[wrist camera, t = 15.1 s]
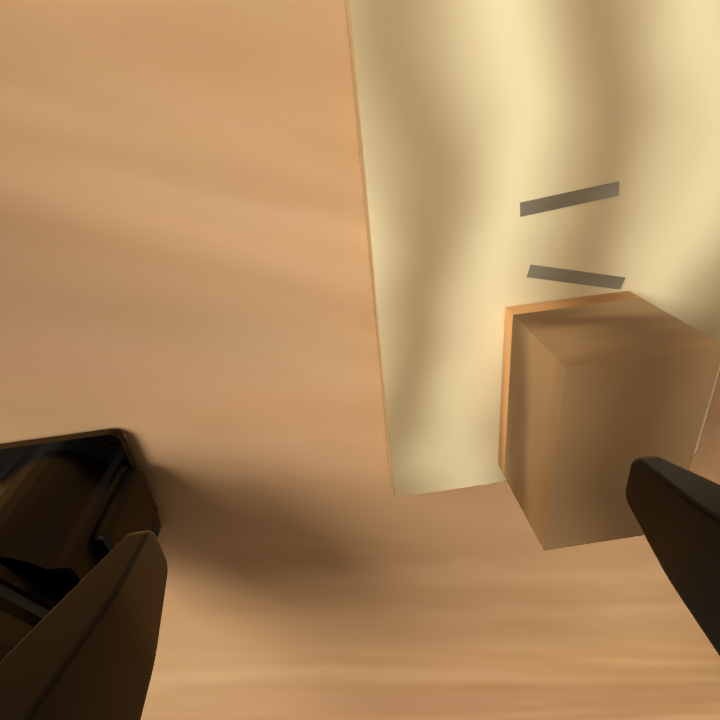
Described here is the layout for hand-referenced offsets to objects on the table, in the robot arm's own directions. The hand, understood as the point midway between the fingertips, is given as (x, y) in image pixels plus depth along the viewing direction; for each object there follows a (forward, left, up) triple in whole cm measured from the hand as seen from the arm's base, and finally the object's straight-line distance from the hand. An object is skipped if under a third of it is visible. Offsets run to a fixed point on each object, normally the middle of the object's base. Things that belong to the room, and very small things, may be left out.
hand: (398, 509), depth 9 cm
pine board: (+8, +1, -12) cm, 15 cm away
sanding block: (+8, -5, -10) cm, 14 cm away
